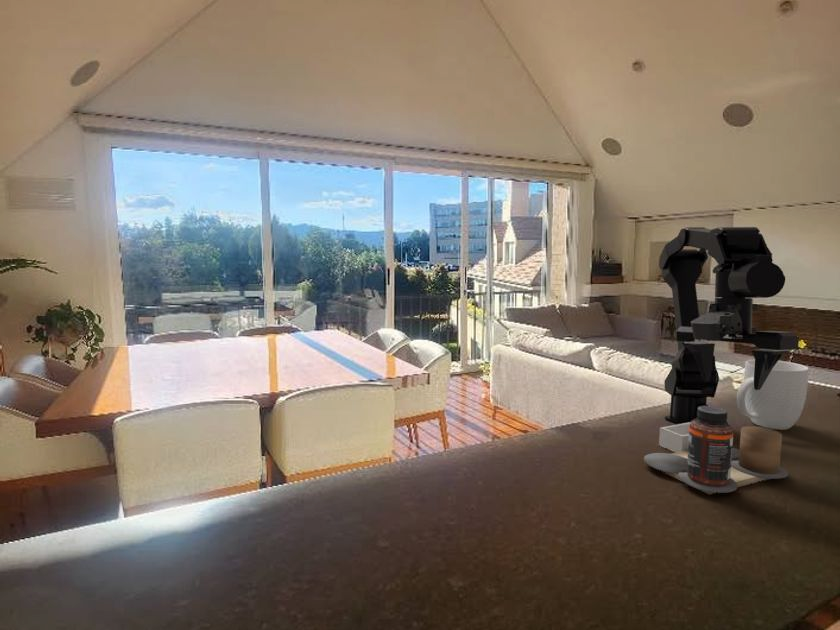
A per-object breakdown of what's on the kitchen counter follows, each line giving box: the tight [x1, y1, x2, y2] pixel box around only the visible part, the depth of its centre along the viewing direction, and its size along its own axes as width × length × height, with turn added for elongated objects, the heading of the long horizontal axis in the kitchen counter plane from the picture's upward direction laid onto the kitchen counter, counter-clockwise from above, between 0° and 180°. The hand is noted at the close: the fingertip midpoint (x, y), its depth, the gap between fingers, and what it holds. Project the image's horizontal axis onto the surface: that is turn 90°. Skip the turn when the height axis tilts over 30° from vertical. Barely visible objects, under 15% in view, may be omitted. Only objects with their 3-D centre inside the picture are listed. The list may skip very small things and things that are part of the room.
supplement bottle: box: [687, 405, 734, 486], centre depth 78 cm, size 6×6×11 cm
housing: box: [658, 422, 691, 453], centre depth 95 cm, size 5×8×4 cm, turn 113°
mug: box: [736, 359, 810, 431], centre depth 106 cm, size 15×11×13 cm
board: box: [643, 425, 789, 495], centre depth 84 cm, size 15×20×7 cm
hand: (730, 385), depth 89 cm, fingers open, 9 cm apart
